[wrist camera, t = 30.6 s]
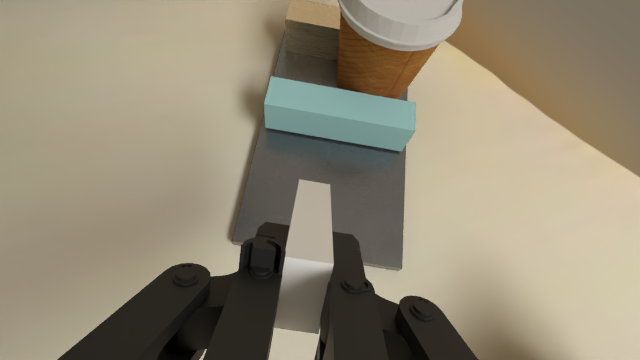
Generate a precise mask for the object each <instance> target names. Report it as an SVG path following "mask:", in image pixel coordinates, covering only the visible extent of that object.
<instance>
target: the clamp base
mask: <svg viewBox="0 0 640 360" xmlns="http://www.w3.org/2000/svg"><path fill="white" fill-rule="evenodd" d="M340 12H341V10H340V8H339V7H334V6H328V5H323V4H318V3H313V2H308V1H303V0H290V3H289V7H288V11H287V15H286V19H285V33H284V37H283V41H282V45H281V49H280V52H279V56H278V60H277V64H276V68H275V72H274V76H273V77H278V78H283V79H289V80H294V81H300V82H305V83H311V84H316V85H322V86H327V87H332V88H336V87H337V74H338V73H337V69H338V54H339V53H338V50H339V37H340V36H339V31H340V18H341V17H340ZM407 90H408V87H407V89H406V90H405V91H404V93H403V94H402V95H401V97H400V98H399V99H398V100H404V101H407ZM405 156H406V146H405V147H404V149H403V150H402V152H401V151H396V150H390V149H384V148H379V147H373V146H367V145H362V144H356V143H350V142H344V141H339V140H333V139H327V138H322V137H316V136H310V135H305V134H299V133H293V132H288V131H282V130H276V129H271V128H265V112H264V116H263V120H262V124H261V128H260V132H259V136H258V140H257V144H256V148H255V152H254V155H253V159H252V163H251V167H250V171H249V175H248V179H247V183H246V187H245V191H244V195H243V199H242V203H241V207H240V211H239V215H238V219H237V223H236V227H235V231H234V235H233V239H232V243H233V244H235V245H242V244H243V243H244V241H246V240H248V239H250V238H255V236H256V233H257V230H258V228H259V227H260V226H261V225H262V224H264V223H265V222H271V223H277V224H284V225H290V224H291V219H292V214H293V209H294V204H295V199H296V194H297V189H298V184H299V179H301V180H307V181H313V182H319V183H325V184H330V193H331V215H332V231H333V232H340V233H346V234H352V235H353V236H354V237H355V238H356V239H357V240H358V242H359V245H360V251H361V258H362V261H363V265H366V266H372V267H378V268H384V269H391V270H397V271H399V270H400V269H402V255H403V222H404V189H405Z"/></svg>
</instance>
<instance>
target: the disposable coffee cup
mask: <svg viewBox="0 0 640 360" xmlns="http://www.w3.org/2000/svg"><path fill="white" fill-rule="evenodd" d="M338 2H339V7H340V10H341V12H340V17H341V18H340V31H339V36H340V37H339V50H338V53H339V54H338V69H337V73H338V74H337V87H336V88H338V89H343V90H349V91H354V92H360V93H365V94H369V95H375V96H382V97H387V98H393V99H399V98H400V97H401V95H402V94H403V93H404V91H405V90H406V89H407V87H408V86H409V85H410V83H411V82H412V81H413V79H414V78H415V76H416V75H417V74H418V72H419V71H420V70H421V68H422V67H423V65H424V64H425V63H426V62H427V60H428V59H429V57H430V56H431V55H432V53H433V52H434V51H435V49H436V48H437V46H438V45H439V44H440V43H441V42H443V41H444V40H445V39H447V38H448V37H449V36H450V35H452V34H453V32H454V31H455V29H456V28H457V27H458V26H459V23H460V21H461V17H462V3H463V0H338Z"/></svg>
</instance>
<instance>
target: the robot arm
mask: <svg viewBox="0 0 640 360" xmlns="http://www.w3.org/2000/svg"><path fill="white" fill-rule="evenodd" d="M274 328H280V329H287V330H294V331H301V332H308V333H315V334H318V333H319V328H320V337H319V342H318V346H317V351H316V355H315V360H478V359H477V358H476V356H475V355H474V354H473V352H472V351H471V350H470V348H469V347H468V346H467V344H466V343H465V342H464V340H463V339H462V338H461V336H460V335H459V334H458V332H457V331H456V329H455V328H454V327H453V325H452V324H451V323H450V321H449V320H448V319H447V317H446V316H445V315H444V313H443V312H442V311H441V310H440V309H439V308H438V307H437V306H436V305H435V304H434V303H432V302H430V301H429V300H427V299H425V298H422V297H418V296H406V297H404V298H403V299H401V300H400V303H399V304H396V303H394V302H391V301H388V300H386V299H384V298H382V297H380V296H378V295H377V294H375V291H374V288H373V286H372V284H371V283H370V282H369V281H368V280H367V279H366V277H365V272H364V267H363V261H362V258H361V251H360V245H359V242H358V240H357V239H356V238H355V237H354V236H353V235H352V234H346V233H340V232H333V231H332V215H331V193H330V184H325V183H319V182H313V181H307V180H301V179H299V184H298V189H297V194H296V199H295V204H294V209H293V214H292V219H291V224H290V225H284V224H277V223H271V222H265V223H264V224H262V225H261V226H260V227H259V228H258V230H257V233H256V236H255V238H250V239H248V240H246V241H244V243H243V244H242V245H241V253H240V262H239V269H238V271H237V272H235V273H232V274H229V275H224V276H213V277H210V272H209V271H208V270H207V268H205V267H203V266H201V265H199V264H193V263H184V264H179V265H175V266H172V267H170V268H169V269H167V270H165V271H164V272H163V273H162V274H161V275H159V276H158V277H157V278H156V279H155V280H153V281H152V282H151V283H150V284H148V285H147V286H146V287H145V288H144V289H142V290H141V291H140V292H139V293H138V294H136V295H135V296H134V297H133V298H131V299H130V300H129V301H128V302H127V303H125V304H124V305H123V306H122V307H121V308H119V309H118V310H117V311H116V312H115V313H113V314H112V315H111V316H110V317H108V318H107V319H106V320H105V321H104V322H102V323H101V324H100V325H99V326H98V327H96V328H95V329H94V330H93V331H91V332H90V333H89V334H88V335H87V336H85V337H84V338H83V339H82V340H81V341H79V342H78V343H77V344H76V345H75V346H73V347H72V348H71V349H70V350H68V351H67V352H66V353H65V354H64V355H62V356H61V357H60V358H59V359H58V360H199V359H200V358H201V356H202V355H203V353H204V350H205V349H207V351H206V353H205V356H204V358H203V360H268V358H269V352H270V347H271V341H272V335H273V329H274Z"/></svg>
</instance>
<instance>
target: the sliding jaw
mask: <svg viewBox="0 0 640 360" xmlns="http://www.w3.org/2000/svg"><path fill="white" fill-rule="evenodd" d="M264 112H265V128H271V129H276V130H282V131H288V132H293V133H299V134H305V135H310V136H316V137H322V138H327V139H333V140H339V141H344V142H350V143H356V144H362V145H367V146H373V147H379V148H384V149H390V150H396V151H401V152H402V150H403V149H404V147H405V146H406V144H407V143H408V141H409V140H410V138H411V137H412V135H413V134H414V132H415V123H416V103H415V102H409V101H404V100H398V99H393V98H387V97H382V96H375V95H369V94H365V93H360V92H354V91H349V90H343V89H338V88H332V87H327V86H322V85H316V84H311V83H305V82H300V81H294V80H289V79H283V78H278V77H272V76H271V78H270V82H269V86H268V90H267V94H266V98H265V101H264Z"/></svg>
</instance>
